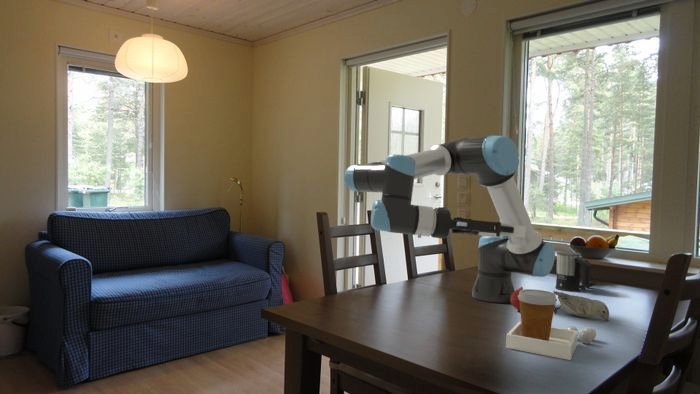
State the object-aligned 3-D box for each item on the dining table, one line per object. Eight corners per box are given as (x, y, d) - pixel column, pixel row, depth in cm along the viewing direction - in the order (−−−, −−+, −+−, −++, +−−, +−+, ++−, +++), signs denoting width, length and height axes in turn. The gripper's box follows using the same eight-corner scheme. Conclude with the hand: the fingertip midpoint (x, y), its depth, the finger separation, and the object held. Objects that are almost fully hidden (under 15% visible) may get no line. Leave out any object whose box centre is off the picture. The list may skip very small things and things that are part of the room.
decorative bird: (608, 323, 145) (609, 299, 145) (551, 315, 153) (551, 292, 153) (608, 319, 150) (609, 295, 150) (553, 312, 158) (554, 289, 158)
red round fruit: (519, 314, 153) (520, 289, 153) (506, 309, 158) (507, 285, 158) (532, 312, 155) (533, 287, 155) (519, 308, 161) (520, 284, 160)
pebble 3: (581, 340, 127) (581, 327, 127) (582, 337, 130) (583, 324, 130) (595, 342, 125) (596, 329, 125) (596, 339, 128) (597, 326, 128)
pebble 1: (564, 338, 128) (565, 326, 128) (566, 335, 131) (566, 324, 131) (577, 341, 126) (578, 329, 126) (579, 338, 129) (579, 326, 129)
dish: (505, 347, 119) (506, 334, 119) (518, 333, 132) (519, 321, 131) (570, 360, 111) (571, 345, 111) (577, 343, 124) (578, 331, 124)
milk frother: (551, 288, 196) (552, 252, 196) (564, 284, 208) (565, 249, 207) (589, 294, 186) (590, 256, 186) (600, 289, 198) (602, 253, 198)
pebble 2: (578, 343, 124) (578, 331, 124) (579, 340, 127) (579, 328, 127) (591, 346, 122) (592, 333, 122) (592, 343, 125) (593, 330, 125)
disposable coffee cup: (517, 342, 121) (518, 294, 121) (515, 332, 130) (516, 287, 130) (558, 347, 118) (560, 298, 118) (553, 336, 127) (554, 290, 127)
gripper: (419, 237, 134) (493, 246, 135) (444, 236, 109) (534, 247, 111) (422, 210, 135) (495, 220, 136) (447, 203, 110) (537, 215, 111)
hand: (513, 232), depth 123 cm, fingers open, 13 cm apart
